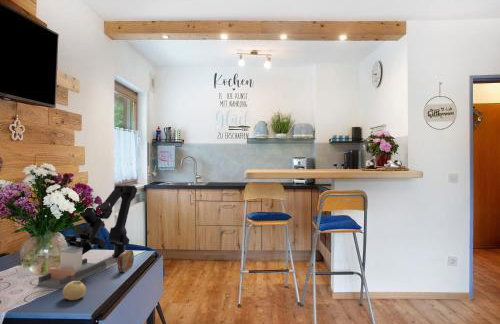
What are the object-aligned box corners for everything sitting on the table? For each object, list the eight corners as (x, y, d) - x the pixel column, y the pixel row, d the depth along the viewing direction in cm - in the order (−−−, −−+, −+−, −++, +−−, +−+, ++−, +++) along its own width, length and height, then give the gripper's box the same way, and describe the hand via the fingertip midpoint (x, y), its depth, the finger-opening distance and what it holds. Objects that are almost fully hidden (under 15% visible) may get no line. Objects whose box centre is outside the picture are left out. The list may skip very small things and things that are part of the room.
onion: (64, 304, 127) (64, 285, 127) (60, 297, 134) (61, 278, 134) (87, 299, 132) (88, 281, 132) (83, 292, 138) (83, 275, 138)
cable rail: (84, 265, 172) (84, 254, 172) (105, 267, 169) (106, 256, 169) (38, 285, 145) (38, 272, 145) (62, 288, 142) (62, 275, 142)
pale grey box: (68, 270, 158) (69, 246, 158) (82, 272, 157) (82, 247, 156) (59, 274, 153) (60, 249, 153) (73, 275, 152) (74, 250, 151)
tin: (122, 274, 160) (123, 256, 160) (115, 274, 160) (116, 256, 160) (134, 264, 175) (134, 247, 175) (128, 264, 175) (128, 247, 175)
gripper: (67, 218, 165) (48, 247, 154) (102, 220, 160) (85, 250, 150) (79, 231, 172) (61, 259, 162) (112, 234, 168) (96, 263, 158)
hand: (75, 258), depth 158 cm, fingers closed, pressing on pale grey box
